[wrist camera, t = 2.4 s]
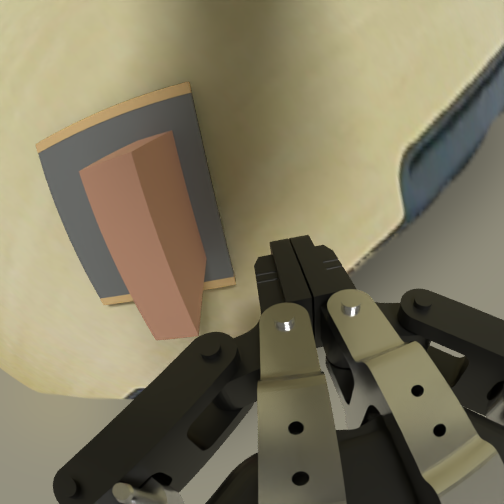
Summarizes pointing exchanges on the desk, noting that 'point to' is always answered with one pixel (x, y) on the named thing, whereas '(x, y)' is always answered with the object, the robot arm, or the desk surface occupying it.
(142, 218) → the slab
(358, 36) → the desk surface
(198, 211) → the mat
